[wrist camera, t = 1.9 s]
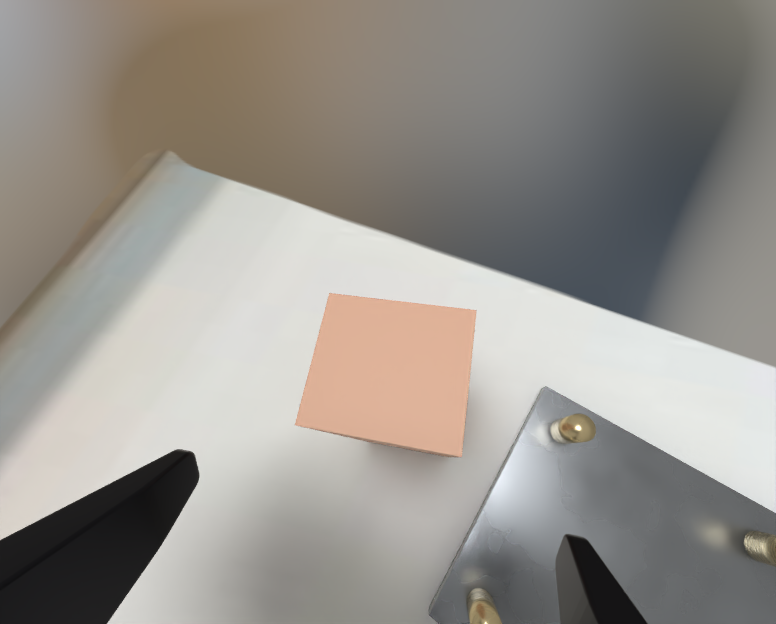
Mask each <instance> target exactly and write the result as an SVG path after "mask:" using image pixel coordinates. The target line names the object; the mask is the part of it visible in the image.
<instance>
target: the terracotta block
mask: <svg viewBox="0 0 776 624" xmlns="http://www.w3.org/2000/svg"><path fill="white" fill-rule="evenodd" d="M475 319H476V310H470V309H461V308H453V307H444V306H435V305H427V304H418V303H410V302H401V301H392V300H384V299H375V298H367V297H358V296H349V295H341V294H332V293H329V296H328V300H327V304H326V308H325V312H324V316H323V319H322V323H321V327H320V331H319V335H318V339H317V342H316V346H315V350H314V354H313V358H312V362H311V365H310V369H309V373H308V377H307V381H306V385H305V388H304V392H303V396H302V400H301V404H300V407H299V411H298V415H297V419H296V423H295V425H297V426H301V427H306V428H310V429H314V430H319V431H323V432H328V433H332V434H337V435H341V436H345V437H350V438H354V439H359V440H363V441H368V442H373V443H378V444H383V445H388V446H394V447H399V448H404V449H409V450H414V451H419V452H425V453H430V454H435V455H440V456H445V457H462V449H463V439H464V429H465V419H466V409H467V399H468V389H469V379H470V369H471V359H472V349H473V339H474V329H475Z"/></svg>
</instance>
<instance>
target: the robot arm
mask: <svg viewBox="0 0 776 624" xmlns="http://www.w3.org/2000/svg"><path fill="white" fill-rule="evenodd" d="M198 480H199V470H198V466H197V462H196V458H195V455H194V453H193V452H191V451H187V450H182V449H177V450H175V451H172V452H170V453H168V454H167V455H165V456H163V457H161V458H159V459H157V460H155V461H153V462H151V463H149V464H147V465H145V466H143V467H141V468H139V469H137V470H136V471H134V472H132V473H130V474H128V475H126V476H124V477H122V478H120V479H118V480H116V481H114V482H112V483H110V484H108V485H106V486H105V487H103V488H101V489H99V490H97V491H95V492H93V493H91V494H89V495H87V496H85V497H83V498H81V499H79V500H77V501H75V502H73V503H72V504H70V505H68V506H66V507H64V508H62V509H60V510H58V511H56V512H54V513H52V514H50V515H48V516H46V517H44V518H42V519H41V520H39V521H37V522H35V523H33V524H31V525H29V526H27V527H25V528H23V529H21V530H19V531H17V532H15V533H13V534H11V535H9V536H8V537H6V538H4V539H2V540H0V624H107V623H108V621H109V620H110V618H111V617H112V616H113V614H114V613H115V611H116V610H117V608H118V607H119V606H120V604H121V603H122V601H123V600H124V598H125V597H126V595H127V594H128V593H129V591H130V590H131V588H132V587H133V585H134V584H135V583H136V581H137V580H138V578H139V577H140V575H141V574H142V573H143V571H144V570H145V568H146V567H147V565H148V564H149V562H150V561H151V560H152V558H153V557H154V555H155V554H156V552H157V551H158V549H159V548H160V546H161V545H162V543H163V542H164V540H165V538H166V537H167V535H168V533H169V532H170V530H171V528H172V527H173V525H174V523H175V521H176V520H177V518H178V516H179V515H180V513H181V511H182V509H183V508H184V506H185V504H186V502H187V501H188V499H189V497H190V496H191V494H192V492H193V490H194V489H195V487H196V485H197V483H198ZM555 571H556V581H557V592H558V602H559V612H560V622H561V624H648V623H647V621H646V620H645V618H644V617H643V616H642V614H641V613H640V612H639V610H638V609H637V607H636V606H635V605H634V603H633V602H632V600H631V599H630V598H629V596H628V595H627V593H626V592H625V591H624V589H623V588H622V586H621V585H620V584H619V582H618V581H617V580H616V578H615V577H614V575H613V574H612V573H611V571H610V570H609V568H608V567H607V566H606V564H605V563H604V561H603V560H602V559H601V557H600V556H599V554H598V553H597V552H596V550H595V549H594V548H593V546H592V545H591V543H590V542H589V541H588V540H587V539H586V538H584V537H582V536H577V535H572V534H565V535H564V536H563V539H562V541H561V544H560V547H559V550H558V553H557V555H556V560H555Z"/></svg>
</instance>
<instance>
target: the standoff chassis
mask: <svg viewBox="0 0 776 624" xmlns="http://www.w3.org/2000/svg"><path fill="white" fill-rule="evenodd" d="M565 534H572V535H577V536H582V537H584V538H586V539H587V540H588V541H589V542H590V543H591V545H592V546H593V548H594V549H595V550H596V552H597V553H598V554H599V556H600V557H601V559H602V560H603V561H604V563H605V564H606V566H607V567H608V568H609V570H610V571H611V573H612V574H613V575H614V577H615V578H616V580H617V581H618V582H619V584H620V585H621V586H622V588H623V589H624V591H625V592H626V593H627V595H628V596H629V598H630V599H631V600H632V602H633V603H634V605H635V606H636V607H637V609H638V610H639V612H640V613H641V614H642V616H643V617H644V618H645V620H646V621H647V623H648V624H776V513H774V512H772V511H771V510H769V509H767V508H765V507H763V506H762V505H760V504H758V503H756V502H754V501H752V500H751V499H749V498H747V497H745V496H743V495H742V494H740V493H738V492H736V491H734V490H733V489H731V488H729V487H727V486H725V485H724V484H722V483H720V482H718V481H716V480H715V479H713V478H711V477H709V476H707V475H705V474H704V473H702V472H700V471H698V470H696V469H695V468H693V467H691V466H689V465H687V464H686V463H684V462H682V461H680V460H678V459H677V458H675V457H673V456H671V455H669V454H668V453H666V452H664V451H662V450H660V449H658V448H657V447H655V446H653V445H651V444H649V443H648V442H646V441H644V440H642V439H640V438H639V437H637V436H635V435H633V434H631V433H630V432H628V431H626V430H624V429H622V428H620V427H619V426H617V425H615V424H613V423H611V422H610V421H608V420H606V419H604V418H602V417H601V416H599V415H597V414H595V413H593V412H592V411H590V410H588V409H586V408H584V407H583V406H581V405H579V404H577V403H575V402H573V401H572V400H570V399H568V398H566V397H564V396H563V395H561V394H559V393H557V392H555V391H554V390H552V389H550V388H548V387H546V386H545V387H544V388H542V389H541V391H540V393H539V395H538V397H537V399H536V401H535V403H534V405H533V407H532V409H531V411H530V413H529V415H528V417H527V419H526V420H525V422H524V424H523V426H522V428H521V430H520V432H519V434H518V436H517V438H516V440H515V442H514V444H513V446H512V448H511V450H510V452H509V454H508V456H507V457H506V459H505V461H504V463H503V465H502V467H501V469H500V471H499V473H498V475H497V477H496V479H495V481H494V483H493V485H492V487H491V489H490V491H489V493H488V494H487V496H486V498H485V500H484V502H483V504H482V506H481V508H480V510H479V512H478V514H477V516H476V518H475V520H474V522H473V524H472V526H471V528H470V530H469V532H468V533H467V535H466V537H465V539H464V541H463V543H462V545H461V547H460V549H459V551H458V553H457V555H456V557H455V559H454V561H453V563H452V565H451V567H450V569H449V570H448V572H447V574H446V576H445V578H444V580H443V582H442V584H441V586H440V588H439V590H438V592H437V594H436V596H435V598H434V600H433V602H432V604H431V606H430V607H429V615H430V616H431V617H432V618H433V619H435V620H436V621H437V622H438V623H439V624H561V622H560V612H559V602H558V592H557V581H556V571H555V560H556V555H557V553H558V550H559V547H560V544H561V541H562V539H563V536H564V535H565Z"/></svg>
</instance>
